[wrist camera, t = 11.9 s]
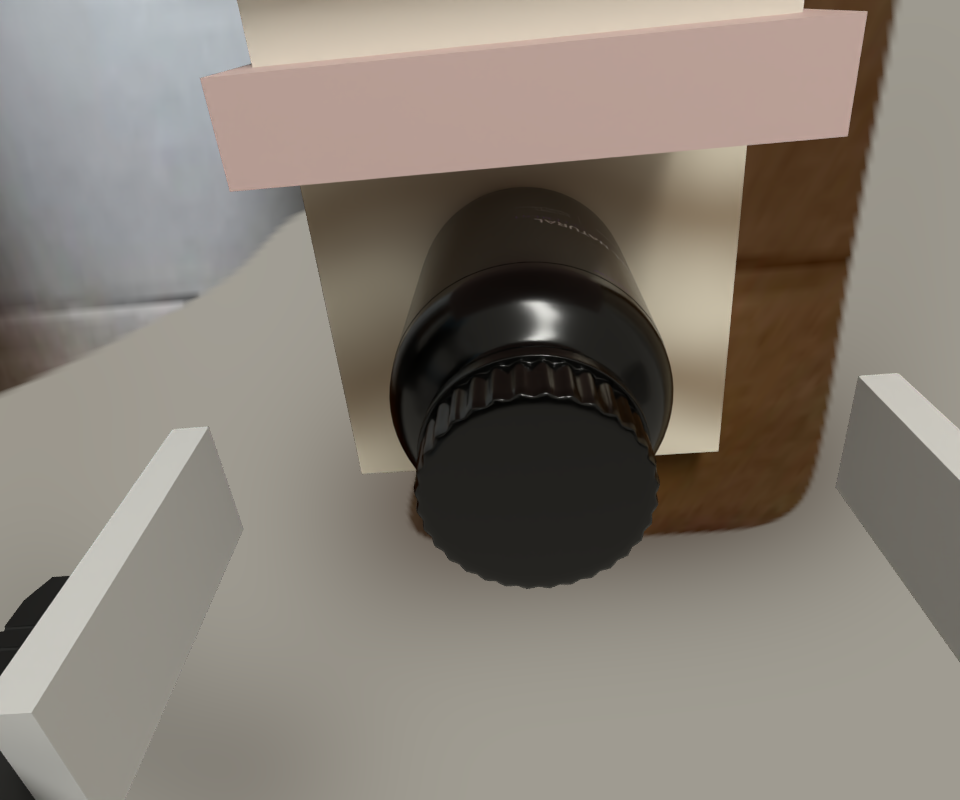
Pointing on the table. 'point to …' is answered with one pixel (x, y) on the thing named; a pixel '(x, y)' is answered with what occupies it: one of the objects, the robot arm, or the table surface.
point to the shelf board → (596, 184)
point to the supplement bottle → (531, 392)
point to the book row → (521, 83)
